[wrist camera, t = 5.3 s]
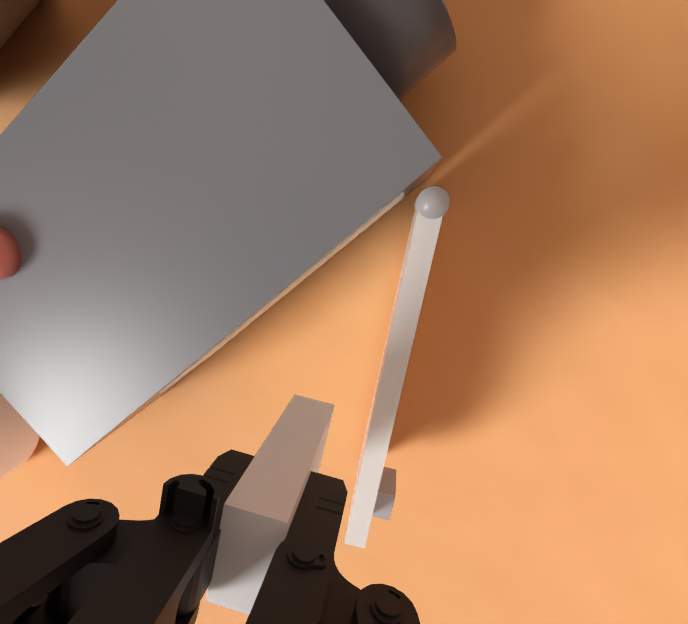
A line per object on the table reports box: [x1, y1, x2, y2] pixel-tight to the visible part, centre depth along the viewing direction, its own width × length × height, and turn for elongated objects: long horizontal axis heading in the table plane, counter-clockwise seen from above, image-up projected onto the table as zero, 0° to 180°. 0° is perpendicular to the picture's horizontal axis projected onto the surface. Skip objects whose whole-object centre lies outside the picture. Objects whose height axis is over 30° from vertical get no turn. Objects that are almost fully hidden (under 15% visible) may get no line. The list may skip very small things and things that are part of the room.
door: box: [344, 186, 450, 549], centre depth 19 cm, size 14×2×7 cm, turn 169°
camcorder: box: [0, 0, 456, 466], centre depth 18 cm, size 21×10×8 cm, turn 129°
